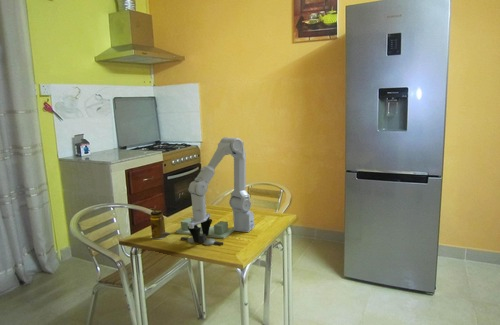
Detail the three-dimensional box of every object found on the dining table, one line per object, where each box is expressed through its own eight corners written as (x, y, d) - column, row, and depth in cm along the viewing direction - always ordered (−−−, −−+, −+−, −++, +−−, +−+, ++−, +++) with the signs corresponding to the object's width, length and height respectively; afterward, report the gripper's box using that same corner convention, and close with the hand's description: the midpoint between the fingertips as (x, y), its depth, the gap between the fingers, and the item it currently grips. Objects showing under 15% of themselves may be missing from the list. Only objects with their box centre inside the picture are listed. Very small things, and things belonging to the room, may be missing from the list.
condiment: (148, 238, 152) (145, 213, 150) (159, 231, 160) (157, 207, 158) (161, 240, 149) (158, 214, 147) (172, 233, 157) (170, 208, 155)
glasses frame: (225, 242, 143) (225, 235, 142) (220, 247, 138) (219, 239, 138) (184, 237, 151) (184, 230, 150) (178, 241, 146) (177, 234, 146)
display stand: (234, 231, 156) (233, 220, 155) (224, 238, 147) (223, 228, 146) (187, 225, 166) (186, 216, 165) (175, 232, 157) (174, 222, 156)
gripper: (200, 203, 150) (202, 232, 152) (181, 212, 137) (184, 244, 139) (213, 204, 147) (215, 233, 150) (196, 214, 134) (198, 246, 136)
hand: (201, 238), depth 144 cm, fingers open, 7 cm apart
